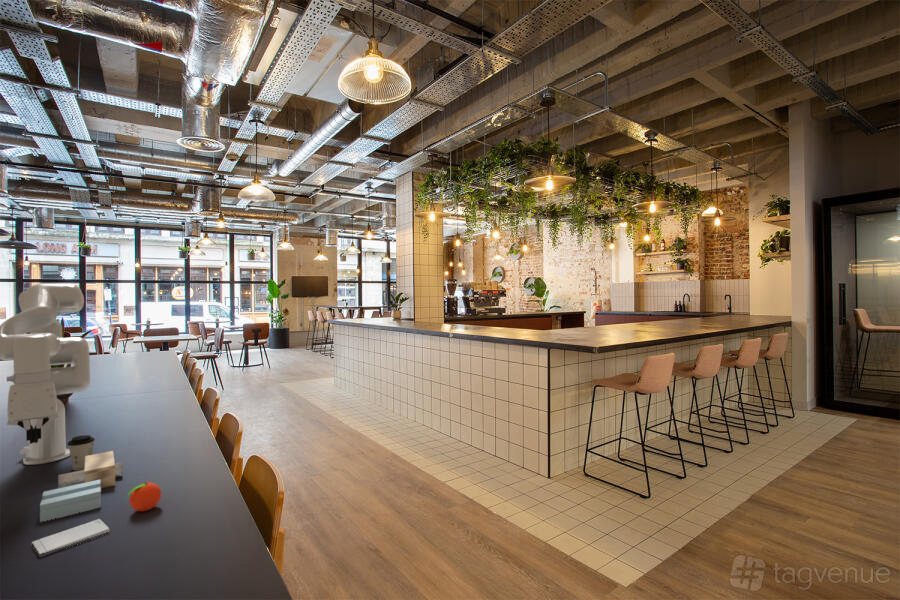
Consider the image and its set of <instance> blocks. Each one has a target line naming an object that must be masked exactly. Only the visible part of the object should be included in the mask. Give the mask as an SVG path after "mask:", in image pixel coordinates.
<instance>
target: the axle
mask: <svg viewBox="0 0 900 600" xmlns="http://www.w3.org/2000/svg"><path fill="white" fill-rule="evenodd" d="M123 473H124V472H123V462H122V461H120V462H116V463H115V479H117V478H122V477H123V476H124V475H123ZM121 476H122V477H121ZM57 478H58V479H57V485H58V486H57V489H59V488H63V487H68V486H72V485H77V484H81V483H85V469H82V470H75V471H72V472H67V473H63V474H58V476H57Z"/></svg>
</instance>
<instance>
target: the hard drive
mask: <svg viewBox="0 0 900 600" xmlns="http://www.w3.org/2000/svg"><path fill="white" fill-rule="evenodd" d="M109 531H111V530H110V528H109V527H108V525H107V524H105V522H104V521H102V520H101V519H100V518H98V519H95V520H92V521H89V522H87V523H84V524H80V525H76V526H75V527H71V528H68V529H66V530H65V529H64V530H63V531H60V532H57V533H54V534H51V535H47V536H45V537H42V538H39V539H36V540H33V541H31V545H32V544H33V545H34V547H35V548H36V550H37V551H38V553H39V554H42V553H46V552H49V551H52V550H55V549H58V548H62V547H65V546H68V545H71V544H73V543H76V542H79V541H82V540H85V539H87V538H91V537H94V536H97V535H100V534H103V533H106V532H109Z"/></svg>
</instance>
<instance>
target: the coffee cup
mask: <svg viewBox="0 0 900 600" xmlns="http://www.w3.org/2000/svg"><path fill="white" fill-rule="evenodd" d="M94 442H95V438H94V437H92V435H89V434H85V435H77V436H74V437H72V438H71V440H69V441H68V442H67V446H68V449H69V450H70V456H69V457H70V460H71V465H72V470H73V471H80V470H85V456H88V455H93V452H94Z"/></svg>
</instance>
